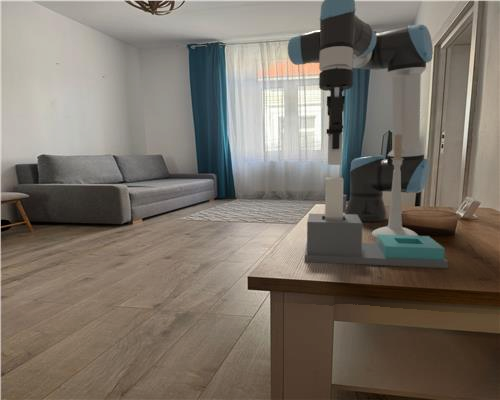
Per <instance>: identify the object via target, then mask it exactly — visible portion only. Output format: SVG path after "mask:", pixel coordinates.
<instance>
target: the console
mask: <svg viewBox="0 0 500 400" xmlns="http://www.w3.org/2000/svg"><path fill="white" fill-rule="evenodd" d="M445 252H446V251H445V247H443V246H442V245H441V244H440V243H438V242H437V241H436V240H435V239H433V238H432V237H430V235H418V236H408V235H377V238H376V242H375V243H374V242H363V221H361V220H360V218H359V217H358V215H356V214H345V213H343V220H325V213H308V216H307V223H306V245H305V251H304V262H307V263H325V264H326V263H328V264H350V265H351V264H353V265H367V266H368V265H371V266H390V267H392V266H393V267H396V266H397V267H412V268H413V267H415V268H434V269H435V268H437V269H449V261H448V260H447V259H446V258H445Z"/></svg>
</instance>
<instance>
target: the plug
mask: <svg viewBox="0 0 500 400" xmlns="http://www.w3.org/2000/svg"><path fill="white" fill-rule="evenodd" d="M324 191H325V194H324V195H325V196H324V197H325V198H324V199H325V200H324V201H325V202H324V203H325V205H324V207H325V209H324V214H325V220H343V214H345V213H346V209H347V194H344V178H343V177H325V190H324Z"/></svg>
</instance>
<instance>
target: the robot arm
mask: <svg viewBox="0 0 500 400" xmlns="http://www.w3.org/2000/svg"><path fill="white" fill-rule="evenodd" d="M356 11H357V10H356V1H355V0H323V1H322V3H321V7H320V14H319V15H320V17H319V22H320V23H319V27H320V28H319V29H318V30H314V31H310V32H306V33H300V34H298V35H295V36H292V37H291V38H289V41H288V43H287V55H288V58H289V60H290V62H291V63H292V64H294V65H296V66H298V65H305V64H318V65H319V66H318V69H319V70H320V73H319V77H318V78H319V79H318V81H319V86H318V87H319V89H320V90H322V91H326V92H327V91H329V92H330V95H329V96H326V106H327V116H328V128H326V135H328V136H327V137H328V139H327V164H328V166H329V165H330V166H342V165H343V163H342V162H343V161H342V160H343V159H342V158H343V157H342V156H343V154H342V153H343V132H344V131H343V128H344V125H343V119H344V118H343V114H344V113H343V112H344V108H345V102H346V101H345V100H346V96H345V95H343V93H344V91H345V90H349V89H352V87H353V85H354V71H353V70H352V69H360V70H361V69H362V70H363V69H364V70H374V71H375V70H376V71H377V70H386V69H387V75H388V76H390V77H391V78H392V82H391V83H392V86H391V88H392V91H391V92H392V96H391V97H392V99H391V100H392V101H391V102H392V103H391V104H392V105H391V106H392V107H391V108H392V111H391V113H392V115H391V119H392V120H391V121H392V124H391V125H392V126H391V127H392V129H391V131H392V133H391V134H392V135H391V138H392V141H391V144H392V145H391V150H390V151H389V152H388V154H387V158H385V157H384V155H380V154H379V155H373V156H372V155H370V156H364V157H363V156H362V157H357V158H354V159H353V160H352V161H351V163H350V170H349V173H350V176H349V178H350V181H349V182H350V187H349V188H350V190H349V192H350V193H349V194H350V195H349V200H348V203H347V204H346V213H344V214H356V215H358V217H359V218H360V220H361V222H382V221H386V220H387V219H388V212H387V210H386V206H385V202H384V197H383V195H384V193H385V192H387V193H391V192H392V182H393V171H394V165H393V164H392V163H393V160H392V159H391V158H394V142H395V135H398V133H399V135H402V153H401V158H404V159H403V160H402V165H401V167H400V171H401V193H403V194H404V193H406V194H419V193H421V192H422V191H423V190H424V189H425V188H426V185H427V184H428V180H429V177H430V171H431V163H430V160H429V159H428V158H425V153H424V151H422V149H420V131H421V130H420V127H421V126H420V125H421V124H420V122H421V84H422V83H421V81H422V79H421V78H422V77H421V75H422V73H424V72H425V70H427V63H430V62H431V61H432V59H433V55H434V50H433V48H434V47H433V40H432V37H431V33H430V31H429V29H428V27H427V26H426V25H424V24H414V25H408V26H405V27H400V28H396V29H395V28H394V29H392V30H387V31H383V32H378V33H376V32H375V30H374V29H373V27H371V26H370V24H368V23H366V22H364V21H363V20H362V19H361V18H359V17H358V16H357V15H356Z"/></svg>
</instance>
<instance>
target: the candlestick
mask: <svg viewBox="0 0 500 400" xmlns="http://www.w3.org/2000/svg"><path fill="white" fill-rule="evenodd" d="M401 153H402V135H399V133H398V135H395V142H394V158H391V159H392V160H393V163H392V164H393V165H394V171H393V182H392V192H390V193H391V194H390V205H389V215H388V223H387V225H386V226H382V227H378V228H376V229H374V230H373V231H372V232H371V236H372V237H373V238H376V239H377V235H408V236H419V234H418V233H416V232H415V231H413V229H412V230H411V229H410V228H407V227H403V224H402V223H403V222H402V192H401V171H400V167H401V165H402V160H403V159H404V158H401Z"/></svg>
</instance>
